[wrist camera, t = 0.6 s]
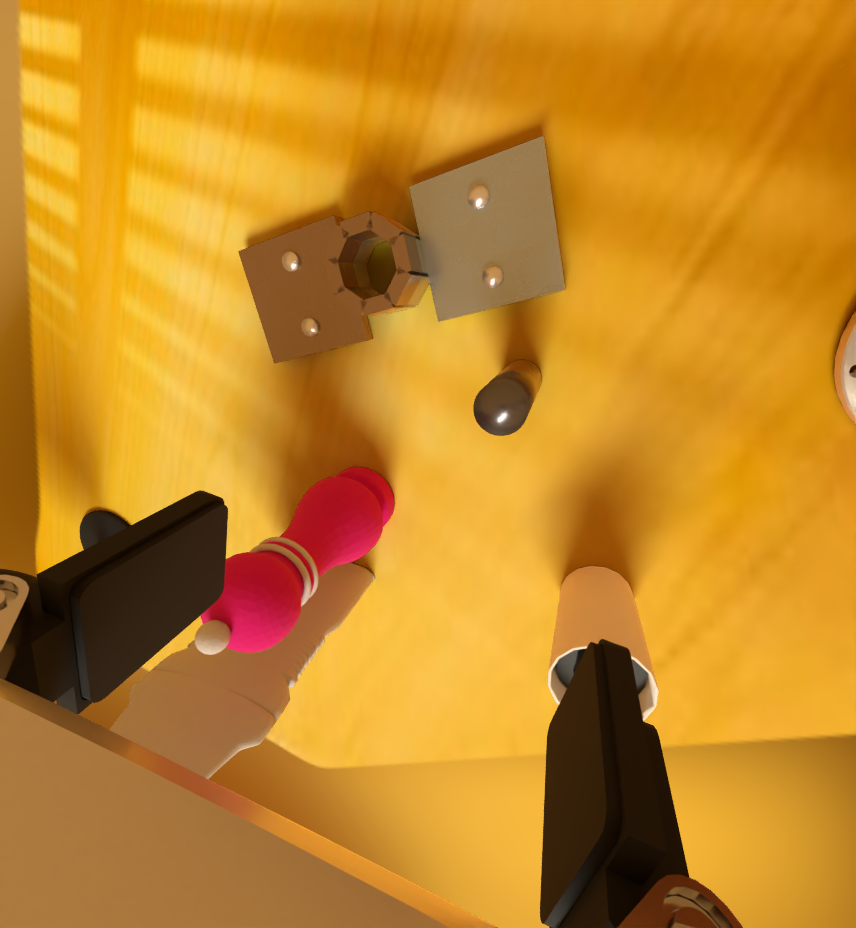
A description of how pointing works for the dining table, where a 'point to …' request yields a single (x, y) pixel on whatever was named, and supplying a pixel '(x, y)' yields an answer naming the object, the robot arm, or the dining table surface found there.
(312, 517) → the pepper mill
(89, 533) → the wine glass
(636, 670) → the paper coffee cup
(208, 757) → the beige upright panel
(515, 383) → the hinge pin
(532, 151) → the hinge
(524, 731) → the dining table surface
